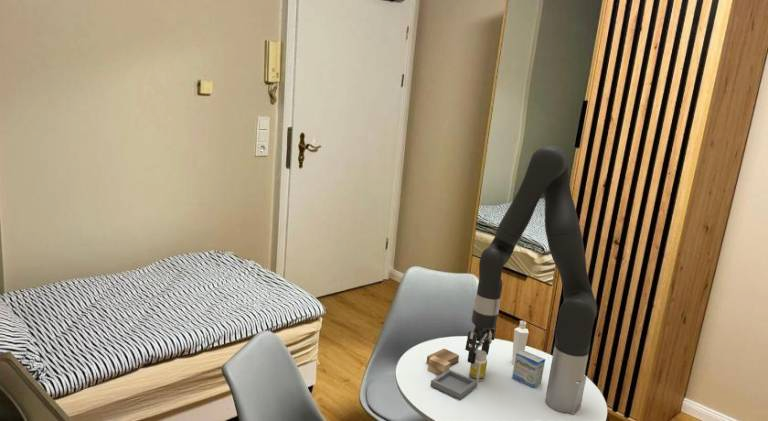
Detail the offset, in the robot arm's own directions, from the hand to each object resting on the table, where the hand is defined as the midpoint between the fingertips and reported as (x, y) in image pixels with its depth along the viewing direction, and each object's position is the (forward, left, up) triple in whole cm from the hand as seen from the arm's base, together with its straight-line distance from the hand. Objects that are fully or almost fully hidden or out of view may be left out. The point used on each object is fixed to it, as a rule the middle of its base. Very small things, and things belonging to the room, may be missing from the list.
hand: (477, 358), depth 167 cm
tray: (+1, +10, -6) cm, 12 cm away
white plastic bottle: (-5, -18, -7) cm, 20 cm away
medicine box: (-13, -10, -7) cm, 17 cm away
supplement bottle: (-1, 0, -7) cm, 7 cm away
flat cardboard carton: (+12, 0, -7) cm, 14 cm away
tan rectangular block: (+9, +6, -6) cm, 13 cm away
